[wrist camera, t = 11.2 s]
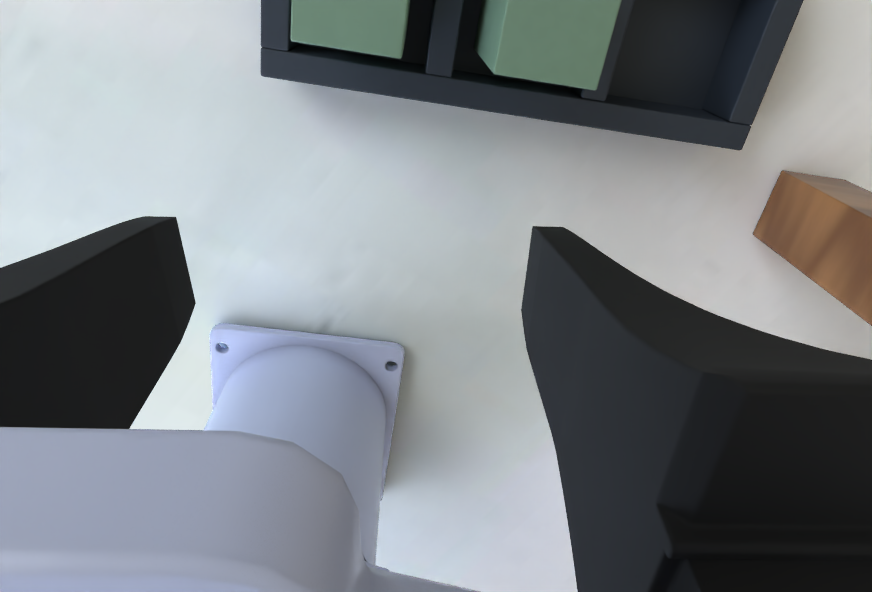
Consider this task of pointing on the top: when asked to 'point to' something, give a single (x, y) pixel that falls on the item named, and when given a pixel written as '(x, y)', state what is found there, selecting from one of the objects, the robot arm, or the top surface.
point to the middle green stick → (547, 39)
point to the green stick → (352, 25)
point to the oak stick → (823, 234)
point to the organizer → (602, 108)
